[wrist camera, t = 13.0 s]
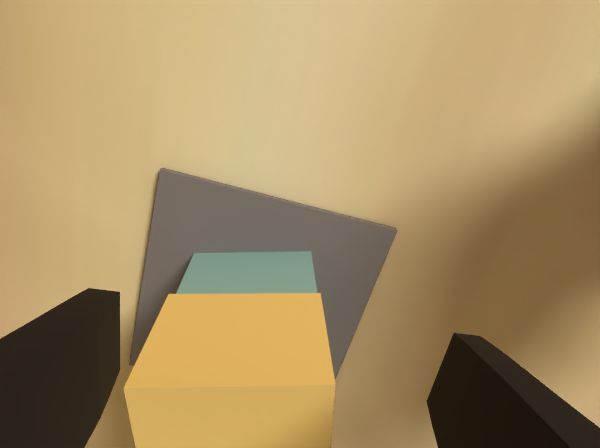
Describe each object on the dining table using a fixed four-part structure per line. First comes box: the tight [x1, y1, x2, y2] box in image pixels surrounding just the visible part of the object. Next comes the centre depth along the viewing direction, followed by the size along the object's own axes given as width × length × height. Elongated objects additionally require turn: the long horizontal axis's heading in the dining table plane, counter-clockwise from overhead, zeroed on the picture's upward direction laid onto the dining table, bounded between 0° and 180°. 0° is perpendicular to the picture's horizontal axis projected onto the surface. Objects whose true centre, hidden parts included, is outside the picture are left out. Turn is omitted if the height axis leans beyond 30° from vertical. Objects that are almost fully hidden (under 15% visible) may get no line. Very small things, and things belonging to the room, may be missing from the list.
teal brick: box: [176, 251, 317, 294], centre depth 16 cm, size 5×5×4 cm
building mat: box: [129, 168, 397, 379], centre depth 18 cm, size 10×10×1 cm
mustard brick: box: [123, 293, 336, 448], centre depth 12 cm, size 5×5×4 cm
